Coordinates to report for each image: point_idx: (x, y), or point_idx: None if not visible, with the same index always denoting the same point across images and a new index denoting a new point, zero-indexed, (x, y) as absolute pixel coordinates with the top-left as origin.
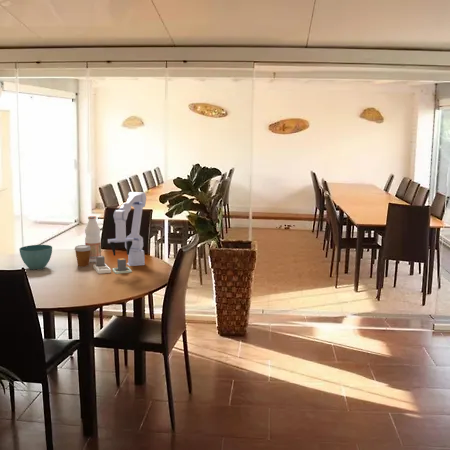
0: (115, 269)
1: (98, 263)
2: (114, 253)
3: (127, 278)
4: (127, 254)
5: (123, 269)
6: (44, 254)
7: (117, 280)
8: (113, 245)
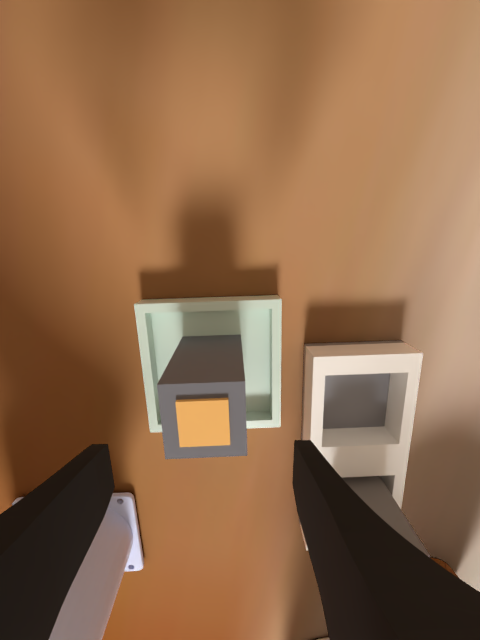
0: (254, 414)
1: (389, 502)
2: (318, 457)
3: (207, 114)
4: (108, 454)
5: (202, 342)
6: None
7: (310, 67)
8: (448, 614)
